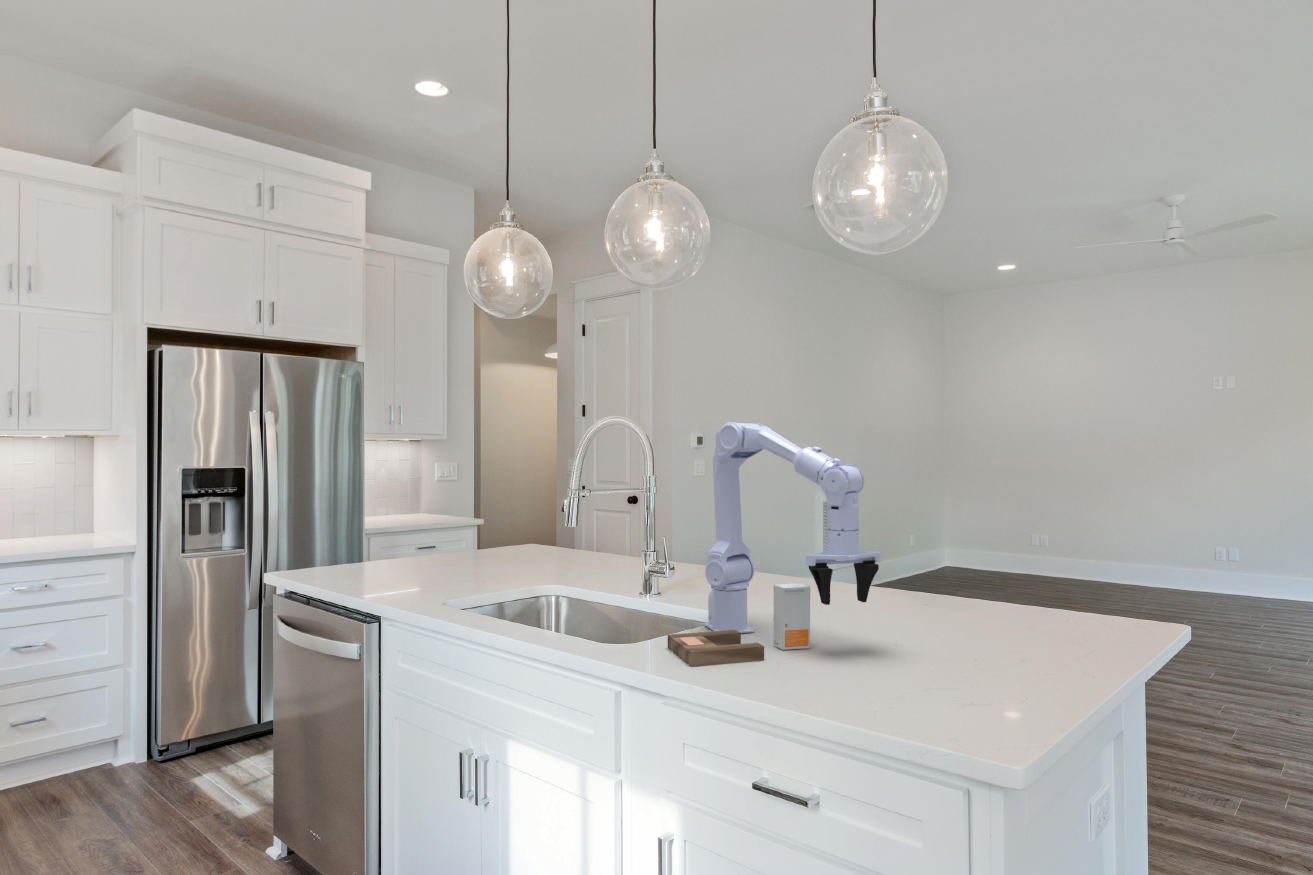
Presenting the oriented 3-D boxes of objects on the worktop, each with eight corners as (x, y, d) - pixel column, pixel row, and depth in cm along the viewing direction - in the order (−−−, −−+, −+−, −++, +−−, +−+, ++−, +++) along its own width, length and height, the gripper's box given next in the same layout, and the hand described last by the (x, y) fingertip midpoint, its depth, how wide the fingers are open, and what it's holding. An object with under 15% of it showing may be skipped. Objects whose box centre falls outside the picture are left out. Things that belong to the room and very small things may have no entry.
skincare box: (782, 651, 148) (781, 587, 148) (773, 645, 152) (772, 583, 152) (811, 648, 149) (810, 585, 150) (801, 643, 154) (801, 582, 154)
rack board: (667, 647, 151) (667, 633, 151) (735, 642, 155) (734, 628, 155) (691, 666, 137) (691, 651, 137) (764, 660, 141) (764, 645, 141)
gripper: (818, 533, 140) (819, 608, 140) (889, 530, 144) (890, 604, 144) (800, 529, 147) (801, 601, 147) (868, 526, 151) (869, 597, 151)
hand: (843, 602), depth 146 cm, fingers open, 7 cm apart
